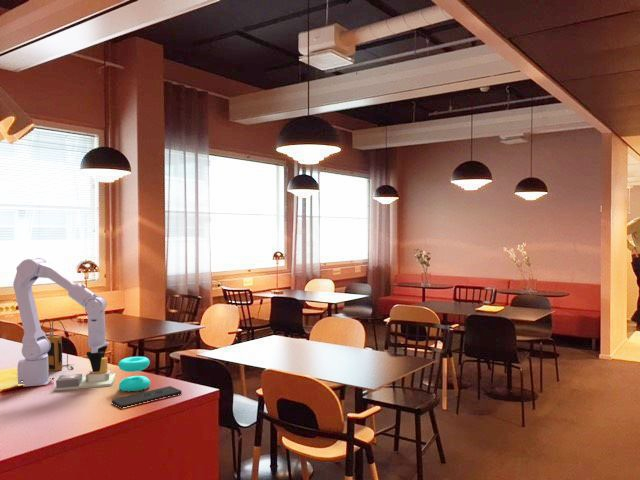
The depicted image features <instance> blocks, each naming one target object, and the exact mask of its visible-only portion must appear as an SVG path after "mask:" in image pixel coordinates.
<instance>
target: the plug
mask: <svg viewBox="0 0 640 480" xmlns="http://www.w3.org/2000/svg"><path fill="white" fill-rule="evenodd" d="M108 363H109V361H108V357H106V356H104V357H102V359H101V366H100V371H99V372H93V374H102V373H106V372H108V370H109V367H108V365H109V364H108Z"/></svg>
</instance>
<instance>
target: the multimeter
mask: <svg viewBox="0 0 640 480" xmlns="http://www.w3.org/2000/svg"><path fill="white" fill-rule="evenodd" d="M45 321H48V322H49V335H46V337H47V339H48V340H49V341H50V344H51V347H50V350H49V351H48V352H47V354H48V368H49V371H55V372H58V371H62V370H63V367H66V368H67V370H68V371H70V370H71V371H72V370H73V369H74V366H73V365H75V363H70V364H69V363H68V362H69V350H67V355H66V364H63V342H62V341H63V339H62V336H61V335H54V334H55V333H54V322H55V321H56V319H54V320H53V321H52V323H51V322H50V320H49V319H48V318H45V319H44V320H43V322H42V324H41V329H42V330H43V326H44V323H45ZM57 321H58V322H59V323H60V324H61V325H62V328H63V330H64V333H65V338H66V342H67V345H69V340H68V334H67V331H66V328H65V327H64V324H63V322H62V321H61V320H60V319H57ZM69 366H70V368H69Z"/></svg>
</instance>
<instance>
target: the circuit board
mask: <svg viewBox="0 0 640 480" xmlns="http://www.w3.org/2000/svg"><path fill="white" fill-rule="evenodd" d="M116 377H117V373H115V372H114V373H111V376H110V378H109V380H100V381H88V382H86V375H82V382H81V384H80V385H79V386H76V387H65V388H56V386H55V387H54V391H56V392H58V391H68V390H69V391H70V390H77V389H90V388H101V387H112V386H113V384H114V381H115V379H116Z"/></svg>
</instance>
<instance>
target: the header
mask: <svg viewBox="0 0 640 480" xmlns="http://www.w3.org/2000/svg"><path fill="white" fill-rule="evenodd" d="M111 374H112V370H111V369H109V368H108V372H106V373H102V374H93V370H89V371H87V373H86V374H85V376H86V382H88V381H100V380H109V378H110V376H111Z"/></svg>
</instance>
